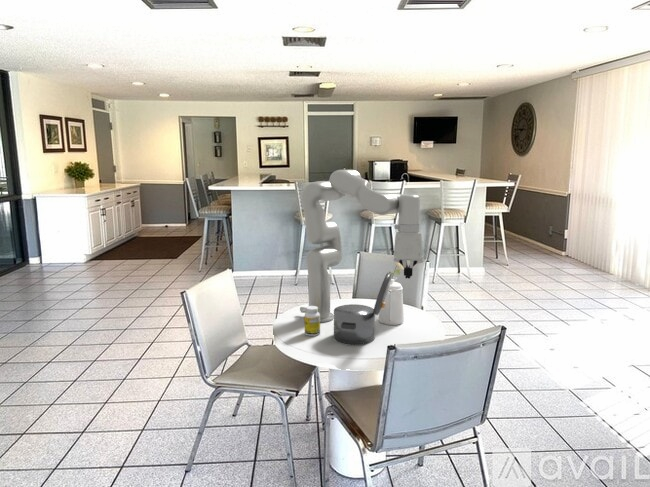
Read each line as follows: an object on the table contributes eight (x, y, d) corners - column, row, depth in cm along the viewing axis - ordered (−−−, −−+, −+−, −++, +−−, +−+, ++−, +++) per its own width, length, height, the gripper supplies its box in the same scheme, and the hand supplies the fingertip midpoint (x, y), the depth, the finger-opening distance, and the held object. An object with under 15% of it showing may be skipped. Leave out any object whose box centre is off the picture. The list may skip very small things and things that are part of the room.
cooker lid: (383, 278, 170) (391, 281, 170) (390, 268, 186) (397, 270, 185) (370, 319, 174) (377, 322, 174) (378, 306, 190) (385, 308, 189)
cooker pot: (326, 345, 179) (326, 317, 177) (341, 326, 199) (341, 301, 197) (368, 349, 174) (369, 321, 172) (379, 330, 194) (379, 304, 192)
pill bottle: (304, 331, 193) (304, 305, 191) (319, 330, 194) (319, 304, 192) (304, 336, 187) (304, 310, 185) (320, 336, 188) (320, 309, 186)
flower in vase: (388, 311, 218) (389, 258, 214) (374, 304, 228) (375, 253, 224) (410, 306, 225) (412, 255, 220) (396, 300, 234) (397, 251, 230)
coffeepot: (375, 331, 193) (376, 286, 190) (380, 312, 217) (381, 272, 214) (402, 333, 191) (403, 288, 188) (404, 313, 215) (405, 273, 212)
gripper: (386, 229, 171) (386, 278, 175) (428, 230, 167) (427, 281, 170) (390, 226, 179) (389, 274, 182) (430, 227, 174) (429, 276, 177)
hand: (408, 277), depth 176 cm, fingers closed
